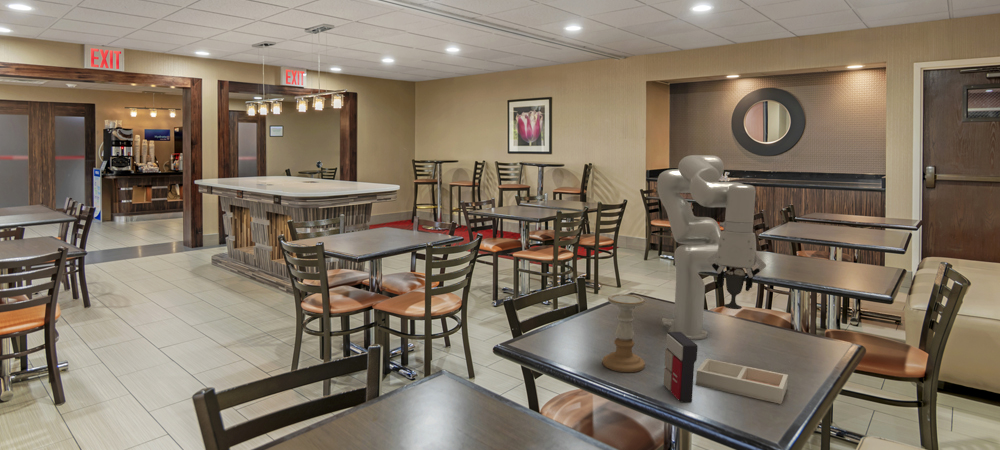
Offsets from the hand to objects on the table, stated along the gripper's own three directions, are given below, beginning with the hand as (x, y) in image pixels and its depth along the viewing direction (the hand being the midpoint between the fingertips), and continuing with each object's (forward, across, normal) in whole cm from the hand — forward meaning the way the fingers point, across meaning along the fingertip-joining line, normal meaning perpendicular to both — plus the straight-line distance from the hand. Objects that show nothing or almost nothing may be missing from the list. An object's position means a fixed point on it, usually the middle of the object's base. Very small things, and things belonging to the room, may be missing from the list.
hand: (734, 287), depth 165 cm
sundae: (+6, 0, 0) cm, 6 cm away
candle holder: (+24, -26, -18) cm, 39 cm away
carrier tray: (+23, +6, -15) cm, 28 cm away
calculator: (+24, -7, -29) cm, 38 cm away
